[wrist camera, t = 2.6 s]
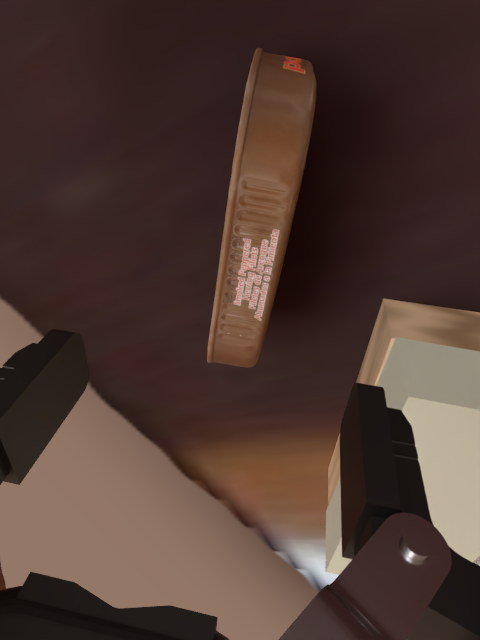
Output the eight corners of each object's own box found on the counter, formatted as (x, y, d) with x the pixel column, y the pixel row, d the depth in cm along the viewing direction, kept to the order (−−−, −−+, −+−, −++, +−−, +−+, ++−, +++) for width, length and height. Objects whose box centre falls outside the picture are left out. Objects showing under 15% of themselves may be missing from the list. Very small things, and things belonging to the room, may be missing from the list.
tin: (262, 42, 19) (227, 51, 12) (329, 55, 19) (330, 71, 12) (222, 304, 28) (189, 392, 21) (267, 314, 28) (248, 406, 21)
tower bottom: (328, 465, 37) (328, 513, 33) (382, 295, 26) (391, 338, 22) (420, 482, 36) (430, 533, 32) (515, 314, 25) (546, 362, 22)
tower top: (325, 511, 33) (325, 571, 29) (395, 336, 22) (408, 396, 19) (428, 533, 32) (440, 597, 29) (550, 363, 22) (594, 431, 18)
